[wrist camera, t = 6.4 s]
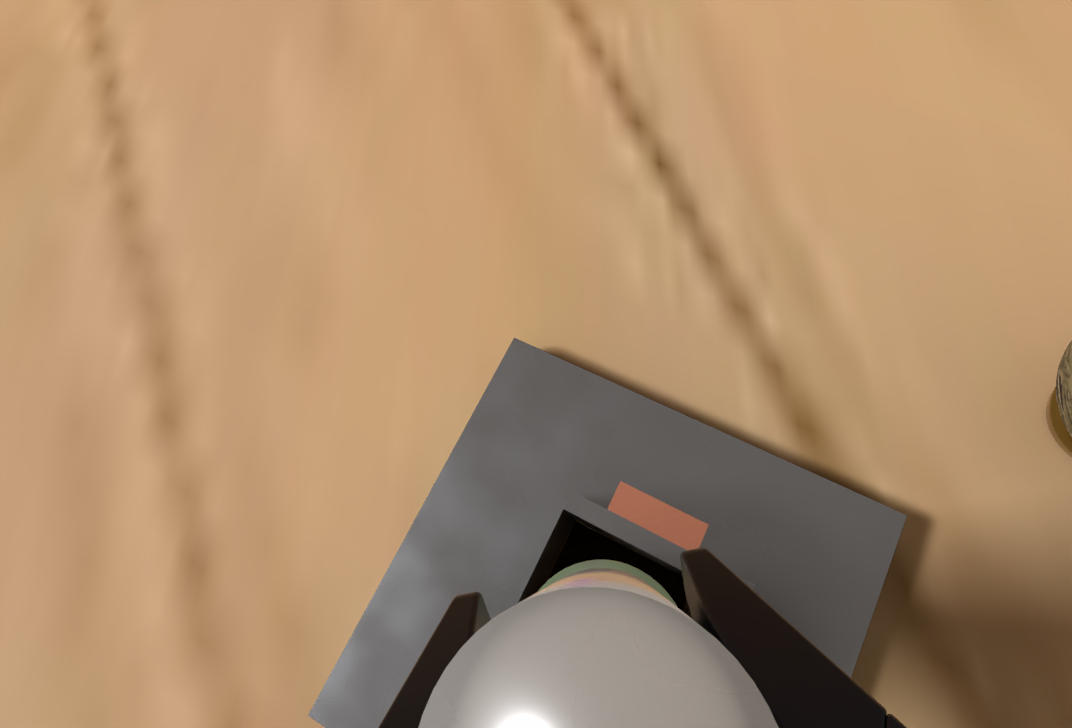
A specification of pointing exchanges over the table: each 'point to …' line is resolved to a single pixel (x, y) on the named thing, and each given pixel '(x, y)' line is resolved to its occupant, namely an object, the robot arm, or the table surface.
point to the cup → (1062, 404)
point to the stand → (609, 522)
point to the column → (595, 662)
